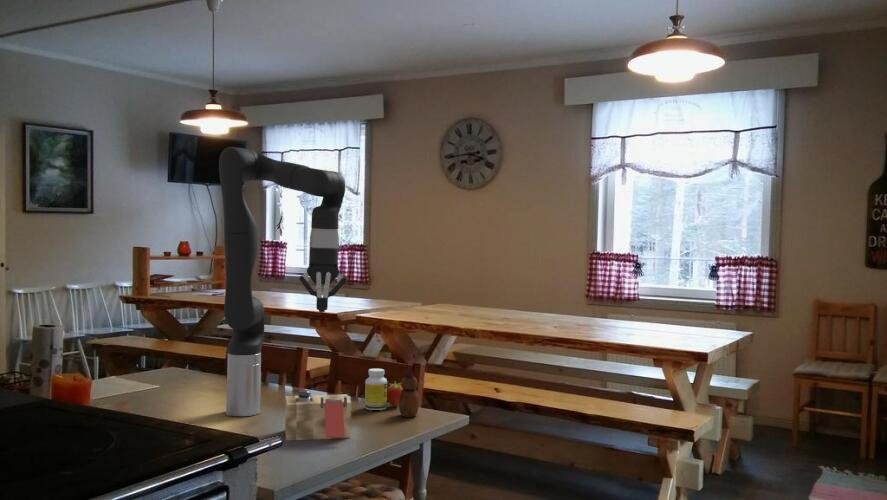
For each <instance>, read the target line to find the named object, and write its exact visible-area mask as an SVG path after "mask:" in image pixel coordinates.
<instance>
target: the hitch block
mask: <svg viewBox="0 0 887 500" xmlns="http://www.w3.org/2000/svg"><path fill="white" fill-rule="evenodd" d="M326 399H342V402H343V417H344V437H326V421H325V402H326ZM298 401H299V396H298V395H285V406H284V407H285V414H284V415H285V416H284V417H285V418H284V421H285V422H284V423H285V424H284V431H285V432H284V433H285V441H305V440H308V441H309V440H330V439H331V440H332V439H333V440H334V439H351V434H352V433H351V431H352V402H351V401H352V400H351V399H350V397H349V395H348V394H344V393H343V394H314V395H311V396H310V401H302V402H298Z"/></svg>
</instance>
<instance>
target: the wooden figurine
mask: <svg viewBox="0 0 887 500" xmlns="http://www.w3.org/2000/svg"><path fill="white" fill-rule="evenodd" d="M413 373H414V372H412V369H411V365H410V364H409V363H408V362H406V368H405V376H403V377H402V379H401V381H400V383H401V384H400V386H401V387H402V388H403V390H402V391H401V392H400V395H399V405H398V407H399V413H400V415H401V416H403V417H405V418H413V417H415V416H416V415H417V414H418V411H419V407H420V396H419V392H418V391H417V390H416V389H417V388H418V379H417V377H415V376H414V374H413Z"/></svg>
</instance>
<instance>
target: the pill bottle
mask: <svg viewBox="0 0 887 500" xmlns="http://www.w3.org/2000/svg"><path fill="white" fill-rule="evenodd" d="M384 375H385V369H383V368H369V369H368V376H369V377H367V378H366V379H365V382H364V384H365V388H364V389H365V392H364V396H365V398H364V399H365V400H364V408H365V409H366V410H368V411H372V410H380V411H383V410H386V409H387V406H388V402H387V401H388V399H387V388H388V380H387V378H386V377H384Z"/></svg>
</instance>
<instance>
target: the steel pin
mask: <svg viewBox="0 0 887 500" xmlns="http://www.w3.org/2000/svg"><path fill="white" fill-rule="evenodd" d="M297 394H298V395H297V396H299V401H298V402H302V401H310V396H311V394H312V391H311V390H309V389H301V390H298V393H297Z"/></svg>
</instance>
